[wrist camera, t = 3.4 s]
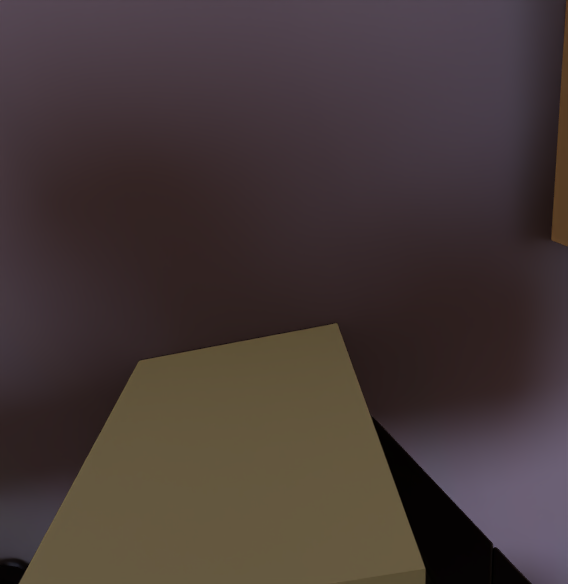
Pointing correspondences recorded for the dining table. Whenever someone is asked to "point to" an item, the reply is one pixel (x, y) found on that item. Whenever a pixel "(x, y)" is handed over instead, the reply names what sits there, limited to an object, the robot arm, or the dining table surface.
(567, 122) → the oak block
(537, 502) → the dining table surface
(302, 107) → the dining table surface
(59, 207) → the dining table surface
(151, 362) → the yellow cube
